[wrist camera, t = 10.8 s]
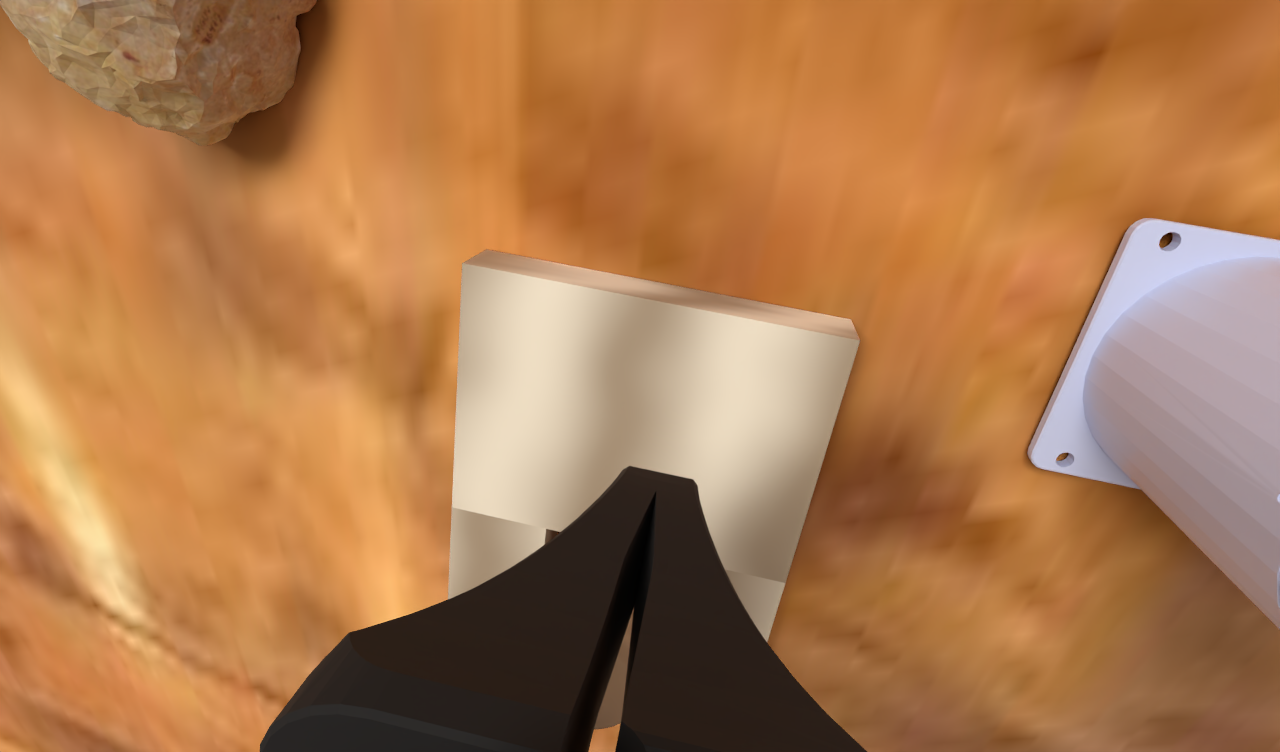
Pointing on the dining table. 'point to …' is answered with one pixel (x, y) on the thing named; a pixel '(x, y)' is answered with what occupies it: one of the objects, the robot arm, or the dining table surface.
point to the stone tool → (169, 56)
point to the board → (636, 412)
